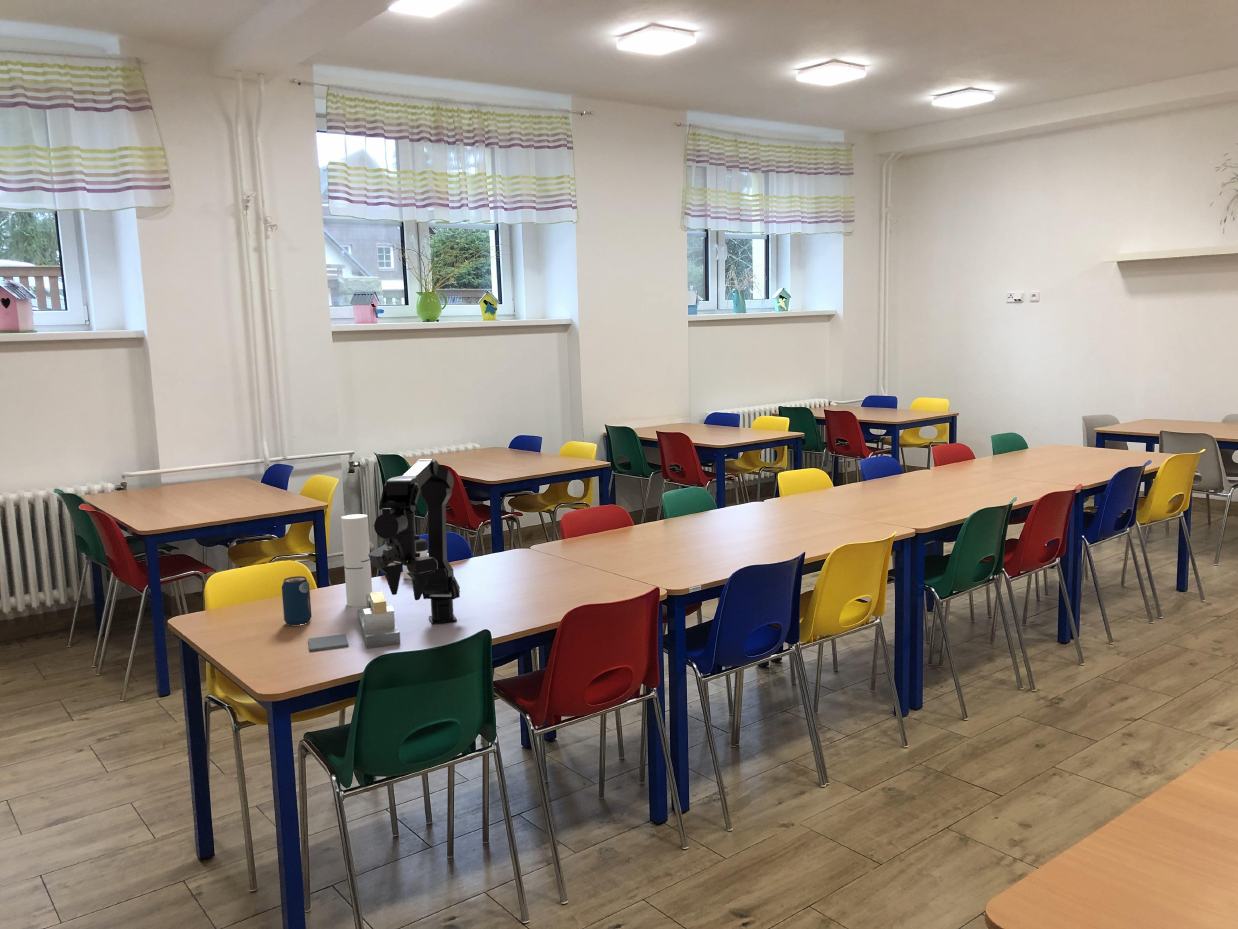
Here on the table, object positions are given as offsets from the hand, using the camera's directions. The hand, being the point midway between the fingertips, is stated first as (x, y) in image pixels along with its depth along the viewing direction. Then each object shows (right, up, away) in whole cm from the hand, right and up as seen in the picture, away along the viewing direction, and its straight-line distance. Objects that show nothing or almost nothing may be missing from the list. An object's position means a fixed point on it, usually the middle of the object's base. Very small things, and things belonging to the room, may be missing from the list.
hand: (405, 597), depth 226 cm
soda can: (-35, -11, +28) cm, 46 cm away
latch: (-10, -5, +13) cm, 17 cm away
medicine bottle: (-12, -4, +74) cm, 75 cm away
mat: (-21, -13, +10) cm, 27 cm away
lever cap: (-10, -9, +13) cm, 19 cm away
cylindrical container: (-23, -8, +46) cm, 52 cm away
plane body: (-11, -11, +19) cm, 24 cm away
